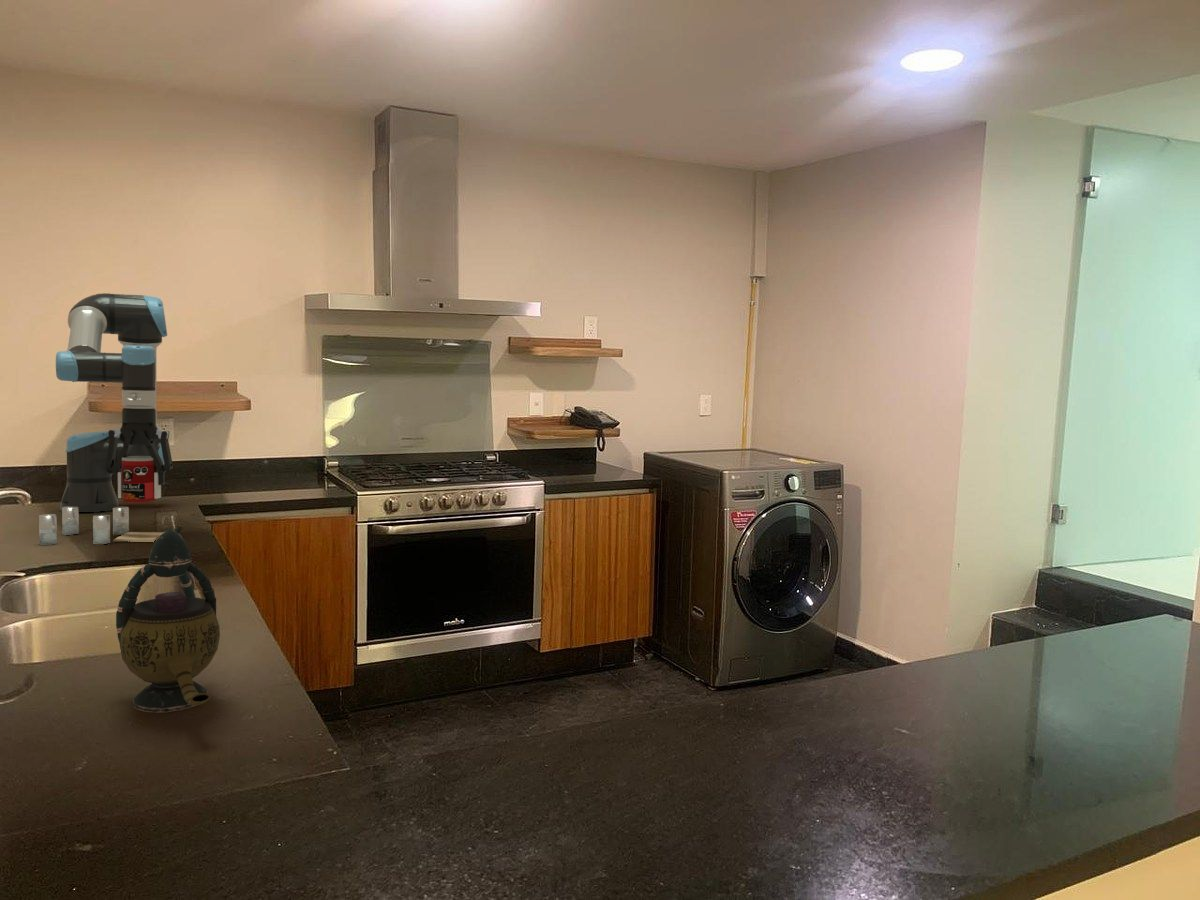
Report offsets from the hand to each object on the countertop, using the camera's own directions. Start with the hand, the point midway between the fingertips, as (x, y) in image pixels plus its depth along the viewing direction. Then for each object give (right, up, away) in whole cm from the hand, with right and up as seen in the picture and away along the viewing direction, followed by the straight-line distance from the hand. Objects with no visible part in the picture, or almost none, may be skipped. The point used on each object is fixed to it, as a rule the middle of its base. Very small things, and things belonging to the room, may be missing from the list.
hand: (139, 497), depth 225 cm
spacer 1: (-17, -11, -9) cm, 22 cm away
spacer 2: (-20, -10, +4) cm, 22 cm away
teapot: (+61, -22, -109) cm, 126 cm away
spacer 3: (-6, -11, -7) cm, 14 cm away
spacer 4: (-8, -10, +6) cm, 14 cm away
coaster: (0, -11, +1) cm, 11 cm away
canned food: (0, -1, 0) cm, 1 cm away
